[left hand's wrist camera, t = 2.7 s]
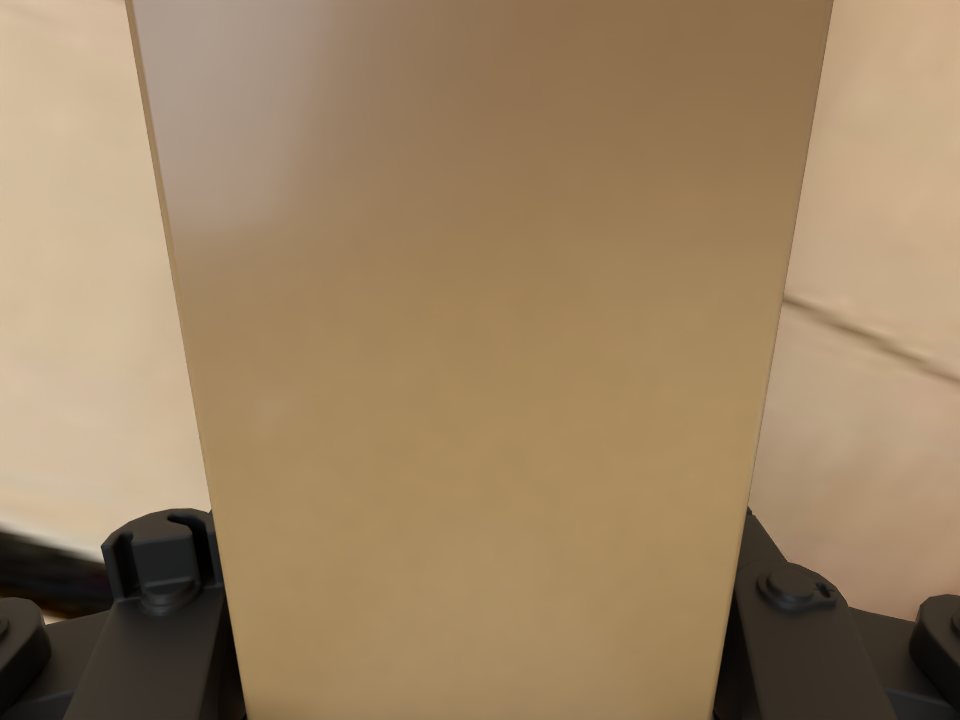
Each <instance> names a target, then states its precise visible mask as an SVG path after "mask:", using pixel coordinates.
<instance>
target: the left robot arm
mask: <svg viewBox="0 0 960 720" xmlns="http://www.w3.org/2000/svg"><path fill="white" fill-rule="evenodd" d="M101 549H102V553H103V557H104V561H105V565H106V569H107V574H108V578H109V582H110V586H111V590H112V594H113V598H114V603H113V606H112V608H111V610H108V611H104V612H101V613H97V614H93V615H89V616H84V617H80V618H75V619H70V620H66V621H61V622H57V623H52V624H48V625H45V622H44V619H43V615H42V612H41V609H40V608H39V607H38V606H37V605H36V604H35V603H34V602H33V601H31V600H28V599H22V598H16V597H11V598H3V599H0V720H248V719H247V713H246V707H245V701H244V695H243V689H242V683H241V678H240V672H239V666H238V660H237V654H236V648H235V642H234V636H233V631H232V625H231V619H230V613H229V607H228V601H227V595H226V590H225V584H224V578H223V572H222V566H221V560H220V554H219V549H218V543H217V537H216V531H215V525H214V519H213V513H212V509H211V511H210V512H209V513H207V512H204V511H200V510H196V509H192V508H186V509H168V510H164V511H159V512H154V513H150V514H147V515H145V516H142V517H140V518H137V519H135V520H132V521H130V522H128V523H127V524H125V525H123V526H122V527H120V528H119V529H117V530H116V531H114V532H113V533H111V535H110V536H109V537H108V538H107V539H106V540H105V542H104V543H103V544H102V545H101ZM711 720H960V596H957V595H948V594H946V595H940V596H934V597H929V598H928V599H927V600H926V601H925V602H923V603H922V604H921V605H920V608H919V611H918V614H917V618H916V621H915V622H912V621H907V620H902V619H898V618H893V617H889V616H884V615H879V614H875V613H870V612H866V611H862V610H859V609H855V608H851V607H848V605H847V602H846V600H845V599H844V597H843V596H842V595H841V593H840V592H839V591H838V589H837V588H836V587H835V586H834V585H833V584H832V583H830V582H829V581H828V580H826V579H825V578H824V577H822V576H821V575H820V574H818V573H816V572H813V571H811V570H809V569H807V568H805V567H803V566H800V565H797V564H793V563H789V562H787V560H786V559H785V558H784V556H783V555H782V553H781V552H780V550H779V549H778V548H777V546H776V545H775V543H774V542H773V541H772V539H771V538H770V536H769V535H768V534H767V532H766V531H765V529H764V528H763V526H762V525H761V524H760V522H759V521H758V519H757V518H756V517H755V515H752V511H751V510H750V508H749V507H748V506H747V511H746V517H745V523H744V529H743V535H742V541H741V547H740V553H739V558H738V564H737V570H736V576H735V582H734V588H733V594H732V600H731V605H730V611H729V617H728V623H727V629H726V635H725V641H724V647H723V652H722V658H721V664H720V670H719V676H718V682H717V688H716V694H715V699H714V705H713V711H712V717H711Z"/></svg>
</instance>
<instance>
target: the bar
mask: <svg viewBox="0 0 960 720" xmlns="http://www.w3.org/2000/svg"><path fill="white" fill-rule="evenodd" d="M125 4H126V9H127V15H128V21H129V27H130V33H131V39H132V45H133V51H134V56H135V62H136V68H137V74H138V80H139V86H140V92H141V97H142V103H143V109H144V115H145V121H146V127H147V133H148V138H149V144H150V150H151V156H152V162H153V168H154V174H155V179H156V185H157V191H158V197H159V203H160V209H161V215H162V220H163V226H164V232H165V238H166V244H167V250H168V256H169V261H170V267H171V273H172V279H173V285H174V291H175V297H176V302H177V308H178V314H179V320H180V326H181V332H182V338H183V343H184V349H185V355H186V361H187V367H188V373H189V379H190V385H191V390H192V396H193V402H194V408H195V414H196V420H197V426H198V431H199V437H200V443H201V449H202V455H203V461H204V467H205V472H206V478H207V484H208V490H209V496H210V502H211V508H212V513H213V519H214V525H215V531H216V537H217V543H218V549H219V554H220V560H221V566H222V572H223V578H224V584H225V590H226V595H227V601H228V607H229V613H230V619H231V625H232V631H233V636H234V642H235V648H236V654H237V660H238V666H239V672H240V678H241V683H242V689H243V695H244V701H245V707H246V713H247V719H248V720H711V717H712V711H713V705H714V699H715V694H716V688H717V682H718V676H719V670H720V664H721V658H722V652H723V647H724V641H725V635H726V629H727V623H728V617H729V611H730V605H731V600H732V594H733V588H734V582H735V576H736V570H737V564H738V558H739V553H740V547H741V541H742V535H743V529H744V523H745V517H746V511H747V506H748V500H749V494H750V488H751V482H752V476H753V470H754V464H755V459H756V453H757V447H758V441H759V435H760V429H761V423H762V417H763V412H764V406H765V400H766V394H767V388H768V382H769V376H770V370H771V365H772V359H773V353H774V347H775V341H776V335H777V329H778V323H779V318H780V312H781V306H782V300H783V294H784V288H785V282H786V276H787V271H788V265H789V259H790V253H791V247H792V241H793V235H794V229H795V224H796V218H797V212H798V206H799V200H800V194H801V188H802V182H803V177H804V171H805V165H806V159H807V153H808V147H809V141H810V135H811V130H812V124H813V118H814V112H815V106H816V100H817V94H818V88H819V83H820V77H821V71H822V65H823V59H824V53H825V47H826V41H827V36H828V30H829V24H830V18H831V12H832V6H833V0H125Z"/></svg>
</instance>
